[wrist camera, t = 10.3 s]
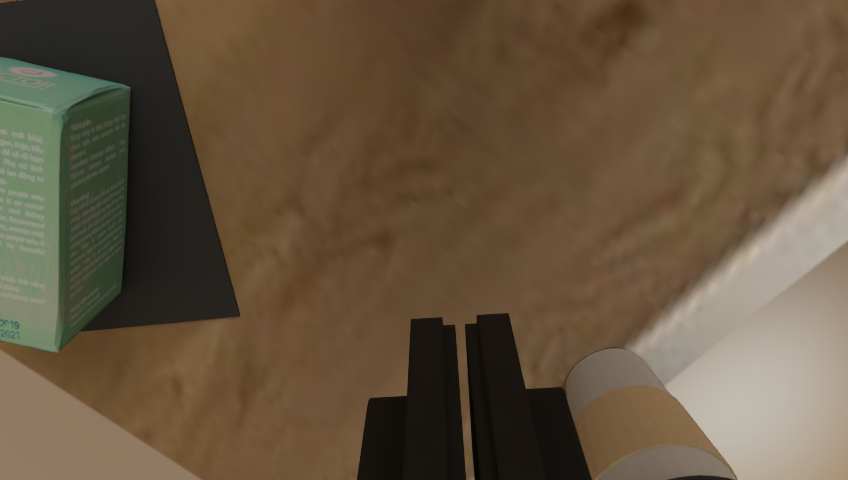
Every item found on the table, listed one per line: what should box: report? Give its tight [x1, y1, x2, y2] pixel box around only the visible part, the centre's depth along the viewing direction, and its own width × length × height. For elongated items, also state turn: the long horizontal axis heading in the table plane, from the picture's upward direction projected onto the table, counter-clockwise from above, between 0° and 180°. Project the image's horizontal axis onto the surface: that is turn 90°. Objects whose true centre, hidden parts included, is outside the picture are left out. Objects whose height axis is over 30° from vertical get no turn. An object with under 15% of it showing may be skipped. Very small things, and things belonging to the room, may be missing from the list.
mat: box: [0, 0, 240, 331], centre depth 35 cm, size 20×12×1 cm, turn 6°
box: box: [0, 57, 131, 352], centre depth 32 cm, size 7×14×8 cm, turn 167°
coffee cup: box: [566, 348, 738, 480], centre depth 34 cm, size 9×9×15 cm
